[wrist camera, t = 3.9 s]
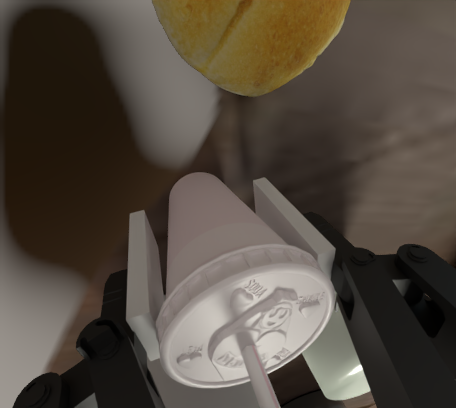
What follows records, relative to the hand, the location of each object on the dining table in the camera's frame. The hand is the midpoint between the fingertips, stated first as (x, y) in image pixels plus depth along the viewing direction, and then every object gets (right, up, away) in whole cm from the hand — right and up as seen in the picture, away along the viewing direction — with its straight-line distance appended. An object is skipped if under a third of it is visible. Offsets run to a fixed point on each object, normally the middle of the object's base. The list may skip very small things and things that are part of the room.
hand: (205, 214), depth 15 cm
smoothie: (-1, +1, +2) cm, 2 cm away
